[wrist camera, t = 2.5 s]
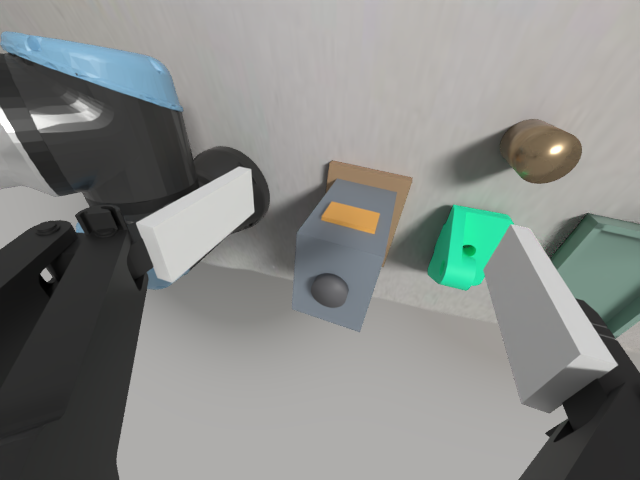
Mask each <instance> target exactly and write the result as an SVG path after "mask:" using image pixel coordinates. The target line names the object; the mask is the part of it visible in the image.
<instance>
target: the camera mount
mask: <svg viewBox="0 0 640 480" xmlns="http://www.w3.org/2000/svg"><path fill="white" fill-rule="evenodd" d="M510 224H512V225H514V223H513V222H512V220H511V218H510V217H509V216H508V215H506V214H501V213H496V212H490V211H485V210H479V209H474V208H469V207H463V206H458V205H453V207H452V209H451V212H450V214H449V217H448V219H447V222H446V224H444V225H443V228H442V230H441V233H440V235H439V238H438V240H437V243H436V245H435V248H434V254H433V257H432V259H431V262H430V264H429V267H428V275H429V276H430V277H431V278H432V279H433V280H435V281H436V282H437V283H438V284H441V285H445V286H449V287H453V288H457V289H461V290H465V291H466V290H468V289H469V288H470V287H471V285H472V286H476V285H479V284H480V283H481V282H482V281H483V279H484V277H485V274H484V271H483V269H484V268H485V266H486V264H487V263H488V261H489V259H490V258H491V256H492V254H493V253H494V251H495V249H496V248H497V246H498V244H499V243H500V241H501V239H502V238H503V236H504V234H505V233H506V231H507V229H508V228H509V226H510ZM464 245H471V246H470V247H468V248H463V246H464Z"/></svg>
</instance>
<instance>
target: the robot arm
mask: <svg viewBox="0 0 640 480" xmlns="http://www.w3.org/2000/svg"><path fill="white" fill-rule="evenodd" d="M0 45H1V46H2V48H3V50H6V51H7V52H8V53H5V54H0V189H3V188H9V187H15V186H26V187H31V188H33V189H36V190H39V191H41V192H44V193H47V194H49V195H52V196H55V197H56V196H63V195H68V194H73V193H78V192H82V193H83V195H84V197H85V199H86V201H87V202H88V204H89V206H90V207H89V208H86V209H84V210H82V211H80V212H78V213H77V214H76V215H75V217H76V218H77V220H78V223H77V225H76V232H75V230H74V228H73V226H72V225H71V223H70V222H67V221H61V220H59V221H48V222H43V223H41V224H39V225H37V226H34V227H32V228H30V229H28V230H27V231H25V232H24V233H23V234H21V235H20V236H18V237H17V238H16V239H14V240H13V241H12V242H10V243H9V244H7V245H6V246H5V247H3V248H2V249H0V480H119V475H118V470H117V465H116V458H117V449H118V444H119V438H120V434H121V427H122V423H123V417H124V412H125V406H126V400H127V395H128V390H129V384H130V379H131V373H132V368H133V363H134V357H135V351H136V346H137V341H138V335H139V329H140V324H141V318H142V313H143V307H144V302H145V297H146V291H147V289H153V290H155V289H163V288H166V287H168V286H170V285H171V284H172V283H174V282H175V281H176V280H178V279H179V278H180V277H182V276H183V275H186V274H187V273H188V272H189V271H190V270H191V269H192V268H193V267H194V266H195V265H196V264H198V263H199V262H200V261H201V260H202V259H203V258H204V257H205V256H206V255H207V254H208V253H210V252H211V251H212V250H213V249H214V248H215V247H216V246H217V245H218V244H219V243H220V242H221V241H223V240H224V239H225V238H226V237H227V236H228V235H229V234H232V233H235V232H238V231H241V230H244V229H247V228H250V227H252V226H254V225H255V224H256V223H258V222H259V221H260V220H261V219H262V218H263V217H264V215H265V214H266V212H267V210H268V207H269V202H270V195H269V189H268V185H267V182H266V180H265V178H264V176H263V174H262V172H261V171H260V169H259V168H258V167H257V165H256V164H255V163H254V162H253V161H252V160H251V159H250V158H249V157H247V156H246V155H245V154H243V153H241V152H240V151H238V150H235V149H233V148H230V147H223V146H219V147H214V148H211V149H208V150H206V151H203V152H202V153H200V154H199V155H197V156H196V157H195V159H194V160H193V157H192V153H191V149H190V145H189V141H188V137H187V132H186V128H185V124H184V120H183V116H182V112H183V108H182V107H181V106H180V104H179V101H178V97H177V94H176V91H175V87H174V84H173V80H172V77H171V75H170V73H169V71H168V69H167V68H166V67H165V66H164V65H163V64H162V63H161V62H160V61H158V60H157V59H155V58H153V57H150V56H146V55H142V54H137V53H133V52H127V51H122V50H117V49H111V48H106V47H100V46H95V45H89V44H83V43H77V42H72V41H66V40H60V39H53V38H47V37H46V38H45V37H40V36H33V35H26V34H22V33H16V32H7V31H6V32H3V33H2V34H1V43H0ZM181 111H182V112H181ZM45 268H47V270H48V271H49V272H50V274H51V275H52V277H53V278H52V279H51V280H50V281H48V282H46V281H45V280H44V279H43V277H42V276H41V275H40V273H41V272H42V270H43V269H45ZM483 271H484V274H485V278H486V282H487V285H488V289H489V292H490V296H491V299H492V303H493V306H494V310H495V313H496V317H497V320H498V324H499V327H500V331H501V334H502V337H503V341H504V344H505V348H506V352H507V355H508V359H509V362H510V366H511V369H512V373H513V376H514V380H515V383H516V387H517V390H518V394H519V397H520V401H521V403H522V404H524V405H527V406H529V407H532V408H535V409H538V410H541V411H544V412H547V413H551V412H552V411H554V410H555V409H556V408H558V407H559V406H561V405H562V404H563V407H564V409H565V411H566V414H567V416H568V419H567V420H565V421H564V422H562V423H560V424H559V425H557V426H556V427H554V428H552V429H551V430H549V431H548V432H546V433H545V434H546V435H548V436H549V437H550V436H551V437H550V438H549V440H548V441H547V442H546V443H545V445H544V446H543V448H542V449H541V450H540V452H539V453H538V454H537V456H536V457H535V458H534V460H533V461H532V462H531V464H530V465H529V466H528V468H527V469H526V470H525V472H524V473H523V474H522V476H521V477H520V478H519V480H640V373H639V371H638V370H637V368H636V367H635V365H634V364H633V363H632V361H631V360H630V358H629V357H628V355H627V354H626V353H625V351H624V350H623V348H622V347H621V345H620V344H619V342H618V341H617V340H615V337H614V335H613V334H612V332H611V331H610V330H609V329H607V325H606V324H605V322H604V321H603V320H602V318H601V317H600V315H599V314H598V313H597V312H596V311H595V310H594V309H593V308H591V307H590V306H589V305H588V304H587V303H586V302H585V301H584V300H580V299H576V298H574V296H573V295H572V293H571V291H570V290H569V288H568V287H567V285H566V284H565V282H564V281H563V279H562V277H561V276H560V274H559V273H558V271H557V270H556V268H555V267H554V265H553V263H552V262H551V260H550V259H549V257H548V256H547V254H546V253H545V251H544V249H543V248H542V246H541V245H540V243H539V242H538V240H537V239H536V237H535V236H534V234H533V232H532V231H531V229H530V228H527V227H522V226H517V225H512V224H510V226H509V228H508V229H507V231H506V233H505V234H504V236H503V238H502V239H501V241H500V243H499V244H498V246H497V248H496V249H495V251H494V253H493V254H492V256H491V258H490V259H489V261H488V263H487V264H486V266H485V268H484V269H483Z"/></svg>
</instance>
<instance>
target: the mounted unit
mask: <svg viewBox="0 0 640 480" xmlns="http://www.w3.org/2000/svg"><path fill="white" fill-rule="evenodd" d="M411 183H412V178H411V177H407V176H402V175H397V174H393V173H388V172H384V171H379V170H374V169H370V168H365V167H360V166H356V165H351V164H346V163H342V162H337V161H333V160H332V161H331V162H330V163H329V171H328V178H327V186H326V194H325V196H324V197H323V198H322V200H321V201H320V202H319V204H318V205H317V206H316V208H315V209H314V210H313V212H312V213H311V214H310V216H309V217H308V218H307V220H306V221H305V222H304V224H303V225H302V226H301V228H300V229H299V230H298V232H297V237H296V252H295V268H294V284H293V299H292V309H294V310H297V311H299V312H302V313H305V314H308V315H311V316H314V317H317V318H320V319H323V320H326V321H328V322H331V323H334V324H337V325H340V326H343V327H346V328H349V329H352V330H355V331H358V332H360V330H361V327H362V324H363V321H364V318H365V315H366V312H367V309H368V306H369V303H370V300H371V297H372V294H373V291H374V288H375V285H376V282H377V279H378V276H379V273H380V270H381V267H383V266H384V263H385V260H386V257H387V255H388V252H389V249H390V246H391V243H392V240H393V237H394V234H395V231H396V228H397V225H398V222H399V219H400V216H401V213H402V210H403V207H404V204H405V201H406V198H407V195H408V192H409V189H410V186H411Z"/></svg>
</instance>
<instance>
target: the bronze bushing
mask: <svg viewBox="0 0 640 480" xmlns="http://www.w3.org/2000/svg"><path fill="white" fill-rule="evenodd" d="M500 152H501V155H502V156H503V158H504V159H505V160H506V161H507V162H508V163H509V164H510V165H511V167H512V168H513V169H514V170H515V171H516V172H517V173H518V174H519V176H520V177H521V178H522V179H524V180H526V181H528V182H531V183H537V184H541V183H548V182H552V181H555V180H557V179H560V178H561V177H563V176H565V175H566V174H568V173H569V172H570V171H571V170H572V169H573V168H574V167H575V166H576V165H577V163H578V161H579V159H580V157H581V153H582V146H581V143H580V141H579V140H578V139H577V138H576V137H575V136H574V135H572V134H570V133H568V132H566V131H563V130H561V129H559V128H557V127H555V126H553V125H550V124H548V123H546V122H544V121H541V120H538V119H529V120H525V121H522V122H519V123H517V124H515V125H514V126H512V127H511V128H510V129H509V130H508V131H507V132H506V133H505V134H504V136H503V138H502V140H501V142H500Z"/></svg>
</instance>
